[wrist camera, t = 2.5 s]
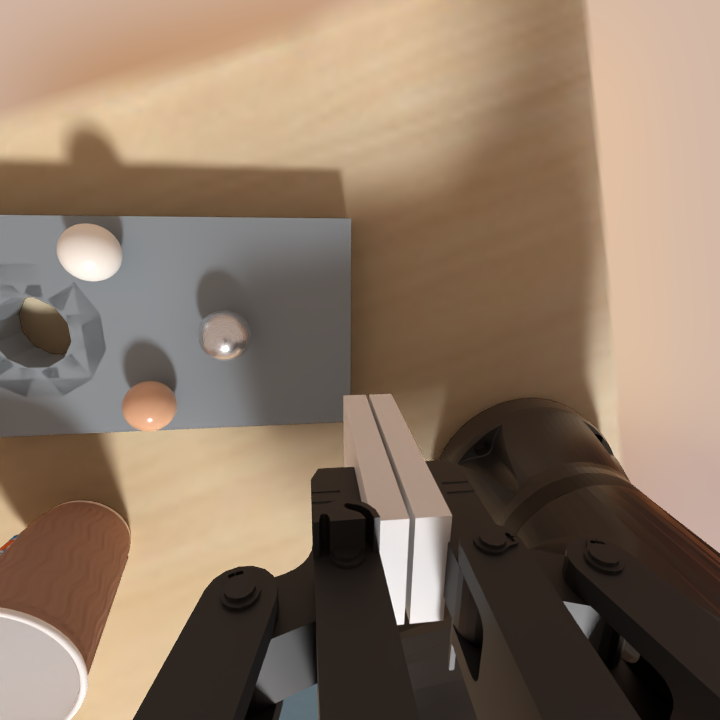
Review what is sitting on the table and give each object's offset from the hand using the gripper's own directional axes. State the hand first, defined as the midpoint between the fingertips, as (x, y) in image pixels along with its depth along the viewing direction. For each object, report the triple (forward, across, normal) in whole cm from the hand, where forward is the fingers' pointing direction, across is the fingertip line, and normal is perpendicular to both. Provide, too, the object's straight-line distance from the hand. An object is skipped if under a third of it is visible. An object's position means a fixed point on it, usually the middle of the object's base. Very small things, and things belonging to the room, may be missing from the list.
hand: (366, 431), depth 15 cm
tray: (+18, +12, 0) cm, 22 cm away
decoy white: (+14, +14, -5) cm, 20 cm away
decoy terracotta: (+14, +12, +4) cm, 19 cm away
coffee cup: (+19, +20, +18) cm, 32 cm away
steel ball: (+14, +7, 0) cm, 15 cm away
